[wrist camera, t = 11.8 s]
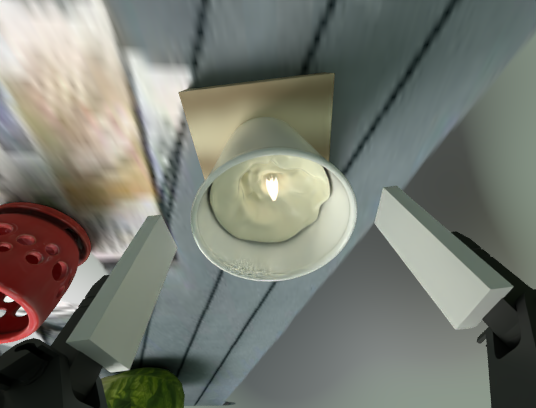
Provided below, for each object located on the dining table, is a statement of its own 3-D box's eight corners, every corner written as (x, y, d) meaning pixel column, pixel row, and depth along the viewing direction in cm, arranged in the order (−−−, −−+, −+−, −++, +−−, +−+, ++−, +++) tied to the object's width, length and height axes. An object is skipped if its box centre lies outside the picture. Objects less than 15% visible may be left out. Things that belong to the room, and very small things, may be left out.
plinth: (187, 89, 21) (178, 92, 19) (324, 72, 21) (334, 73, 19) (219, 203, 29) (216, 216, 26) (319, 191, 29) (326, 203, 26)
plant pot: (104, 269, 34) (44, 352, 24) (4, 251, 31) (-114, 339, 21) (104, 207, 28) (22, 285, 18) (-22, 176, 25) (-209, 251, 15)
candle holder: (325, 124, 21) (392, 177, 11) (292, 203, 26) (317, 289, 16) (227, 93, 19) (200, 124, 9) (212, 186, 24) (183, 272, 14)
